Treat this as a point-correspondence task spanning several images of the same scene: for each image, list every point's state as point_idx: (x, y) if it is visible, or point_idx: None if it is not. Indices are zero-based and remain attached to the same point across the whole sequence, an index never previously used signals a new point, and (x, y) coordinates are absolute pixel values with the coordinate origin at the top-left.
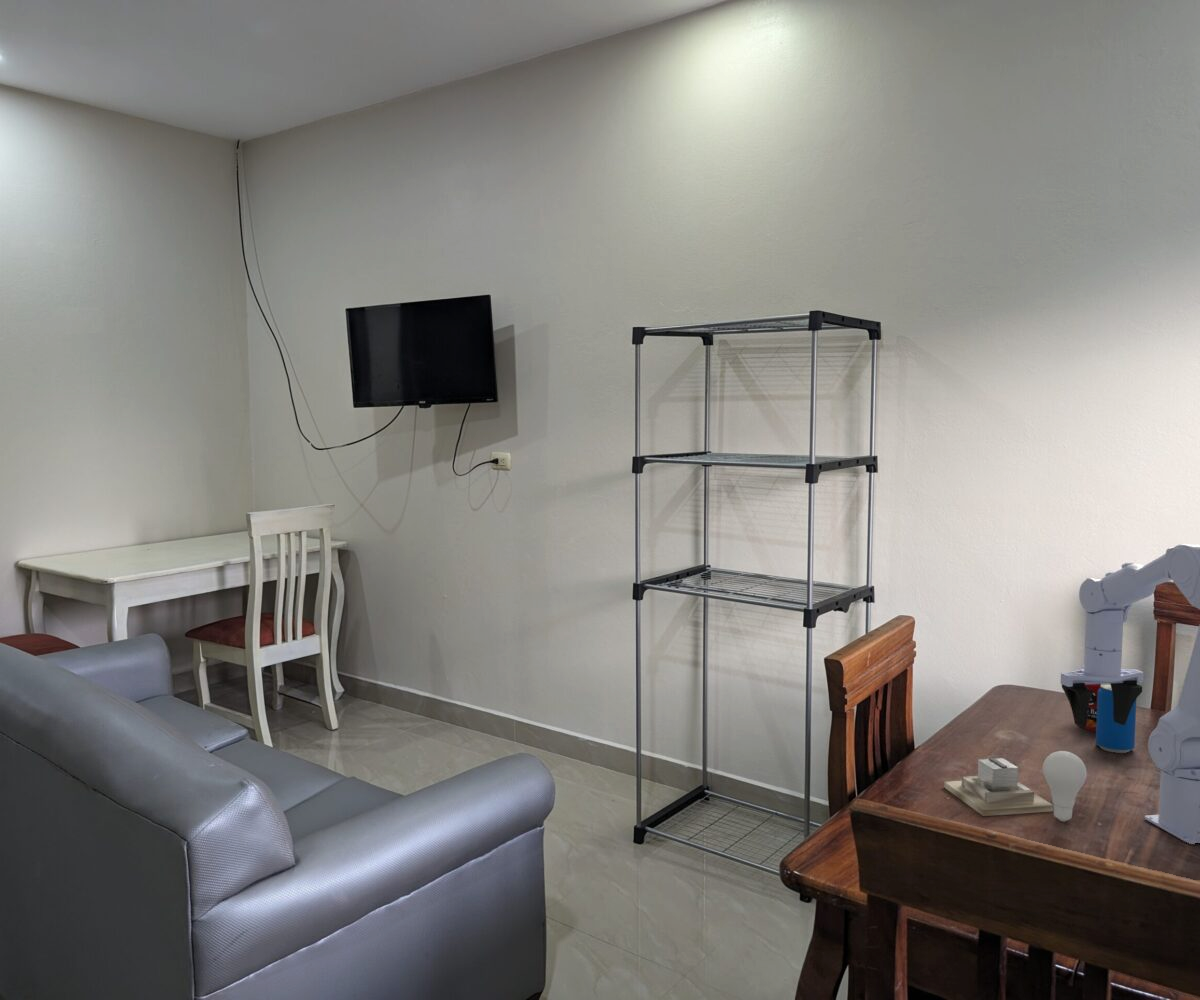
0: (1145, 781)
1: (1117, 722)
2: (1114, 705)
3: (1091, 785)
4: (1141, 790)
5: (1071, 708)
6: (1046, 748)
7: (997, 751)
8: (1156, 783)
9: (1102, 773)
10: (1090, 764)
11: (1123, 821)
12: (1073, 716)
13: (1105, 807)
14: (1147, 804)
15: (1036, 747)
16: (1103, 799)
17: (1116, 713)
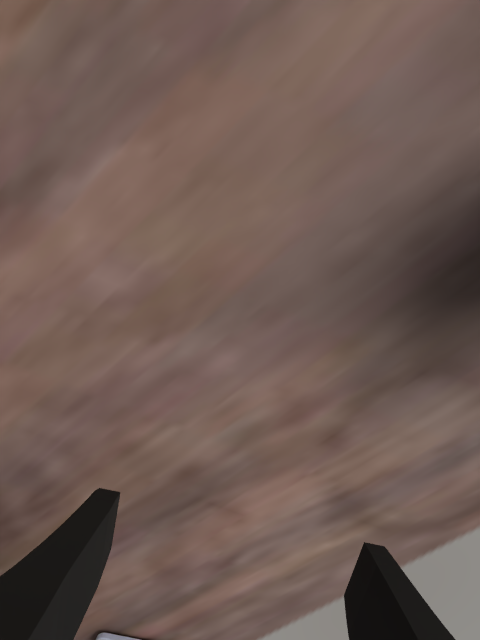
0: (357, 474)
1: (357, 566)
2: (406, 632)
3: (161, 434)
4: (274, 514)
5: (36, 547)
6: (335, 65)
7: (83, 3)
8: (372, 496)
9: (291, 376)
10: (334, 295)
11: None
12: (73, 514)
13: None
14: (195, 578)
15: (303, 32)
16: None
17: (377, 604)
